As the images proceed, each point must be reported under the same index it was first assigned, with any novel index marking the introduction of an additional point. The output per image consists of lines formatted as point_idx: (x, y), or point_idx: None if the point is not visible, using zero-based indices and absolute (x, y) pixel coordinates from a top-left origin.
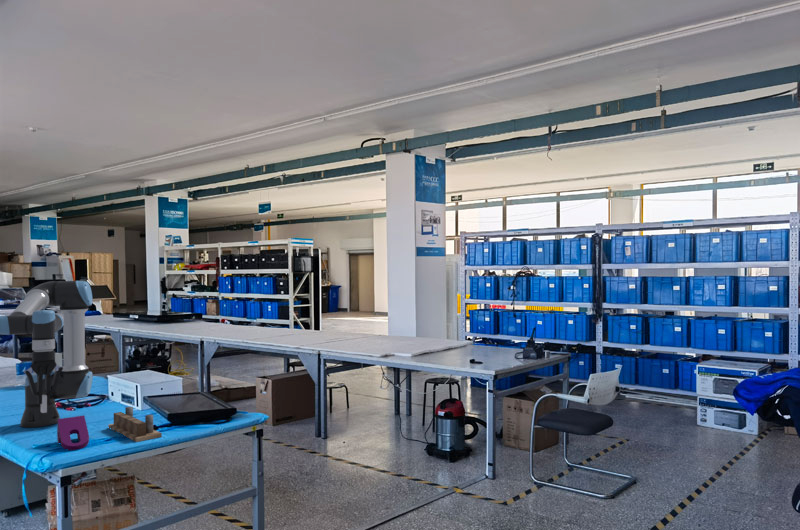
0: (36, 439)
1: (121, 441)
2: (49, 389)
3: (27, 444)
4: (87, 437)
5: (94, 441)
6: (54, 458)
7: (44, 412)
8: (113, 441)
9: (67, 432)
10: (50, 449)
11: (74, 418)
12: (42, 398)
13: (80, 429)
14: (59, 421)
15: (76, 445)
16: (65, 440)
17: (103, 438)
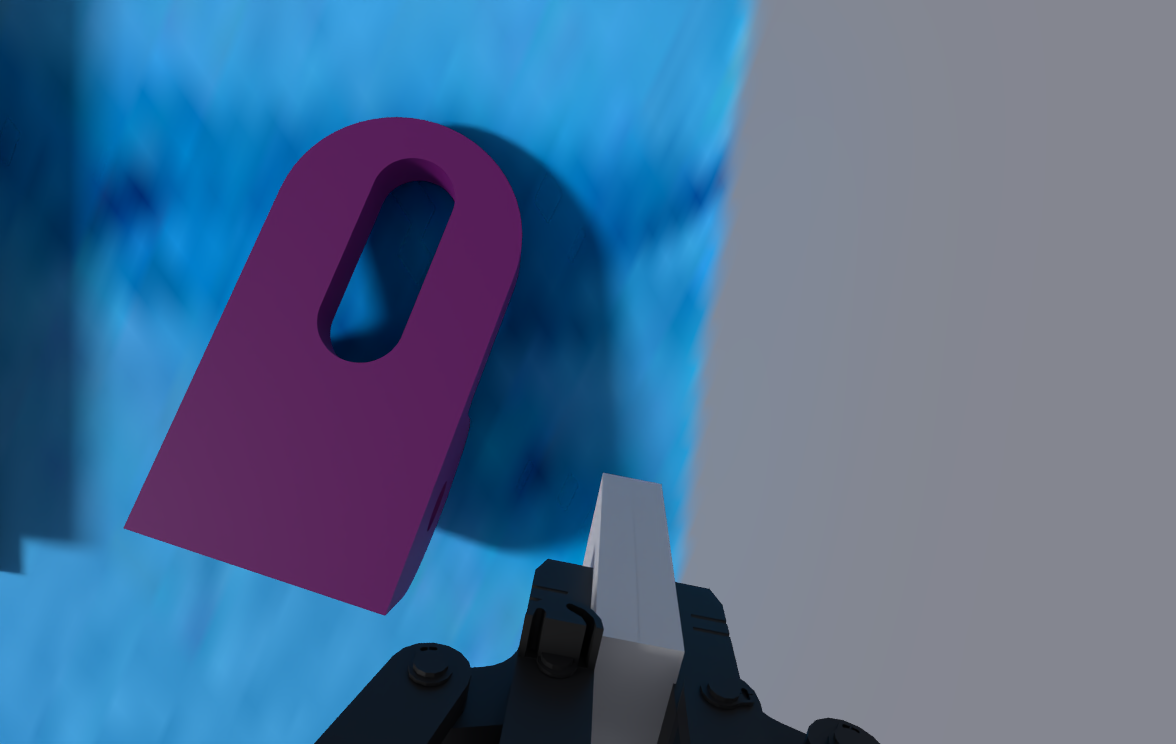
0: None
1: (71, 26)
2: (520, 726)
3: None
4: (304, 174)
5: (238, 263)
6: (690, 38)
7: (635, 479)
8: (123, 100)
9: (416, 348)
10: (573, 356)
11: (240, 531)
12: (679, 615)
13: (291, 323)
14: (392, 563)
15: (444, 130)
16: (487, 250)
17: (147, 287)
